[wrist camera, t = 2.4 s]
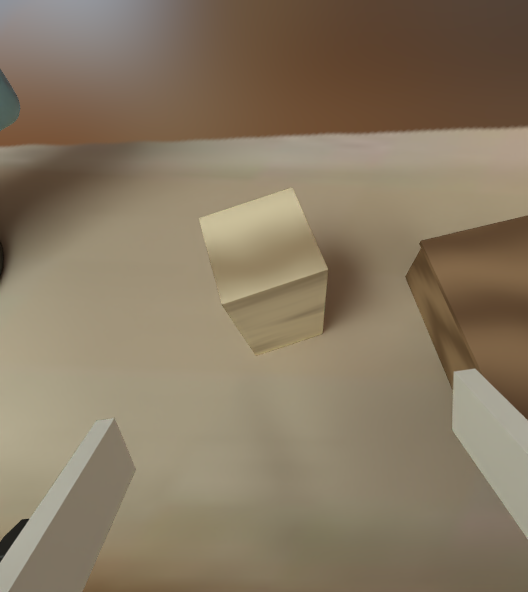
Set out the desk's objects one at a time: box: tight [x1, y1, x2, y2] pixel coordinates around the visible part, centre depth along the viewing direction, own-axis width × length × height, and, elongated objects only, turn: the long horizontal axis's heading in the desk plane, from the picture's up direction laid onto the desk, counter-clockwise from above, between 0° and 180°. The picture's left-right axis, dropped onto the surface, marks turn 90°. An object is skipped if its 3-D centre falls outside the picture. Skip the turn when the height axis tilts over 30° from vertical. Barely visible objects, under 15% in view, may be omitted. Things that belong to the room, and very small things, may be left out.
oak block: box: [199, 187, 328, 356], centre depth 25 cm, size 6×6×12 cm
